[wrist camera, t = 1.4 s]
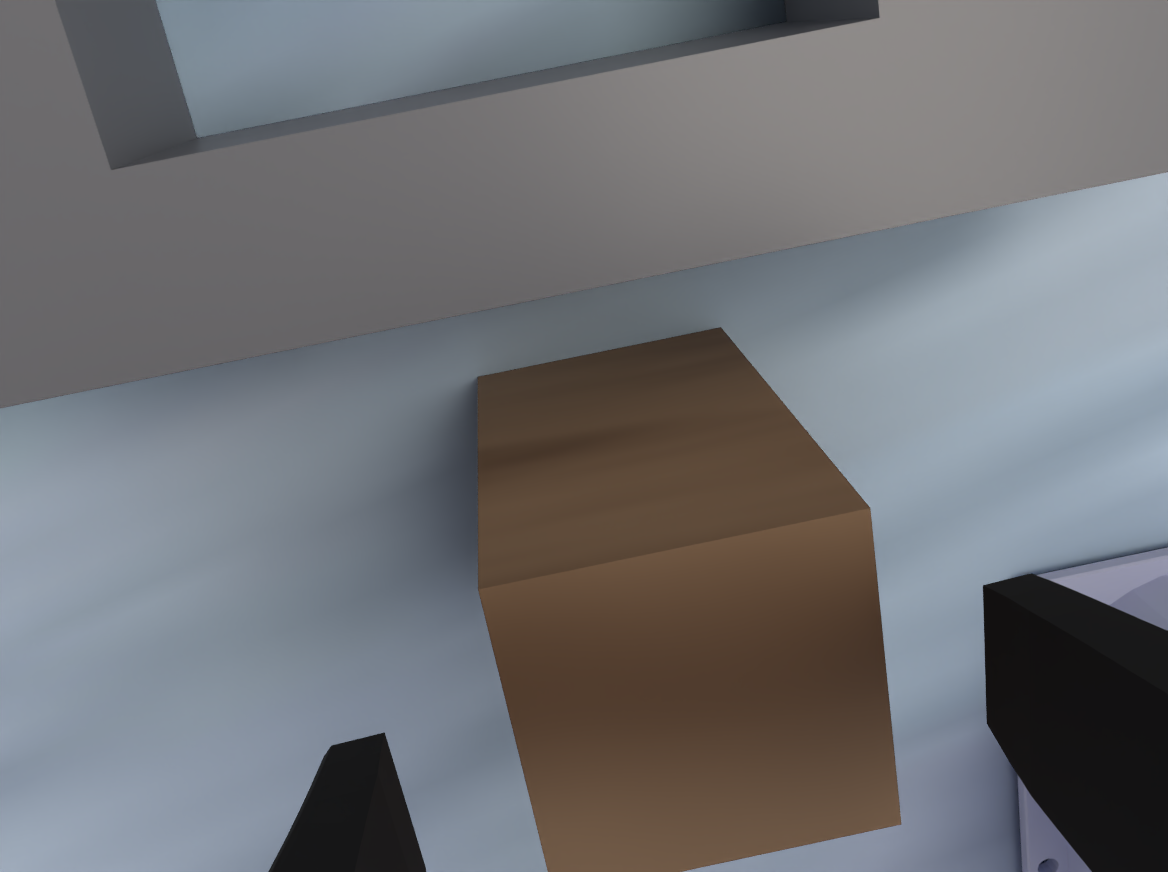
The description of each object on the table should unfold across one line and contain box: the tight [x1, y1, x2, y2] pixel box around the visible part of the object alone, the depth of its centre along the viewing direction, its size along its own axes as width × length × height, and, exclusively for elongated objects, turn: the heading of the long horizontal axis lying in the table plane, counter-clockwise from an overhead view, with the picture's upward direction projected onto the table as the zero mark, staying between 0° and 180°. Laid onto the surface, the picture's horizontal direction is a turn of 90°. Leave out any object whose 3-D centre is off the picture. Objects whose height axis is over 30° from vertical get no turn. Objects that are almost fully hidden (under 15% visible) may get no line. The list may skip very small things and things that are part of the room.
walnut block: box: [478, 327, 901, 872], centre depth 19 cm, size 5×5×9 cm
